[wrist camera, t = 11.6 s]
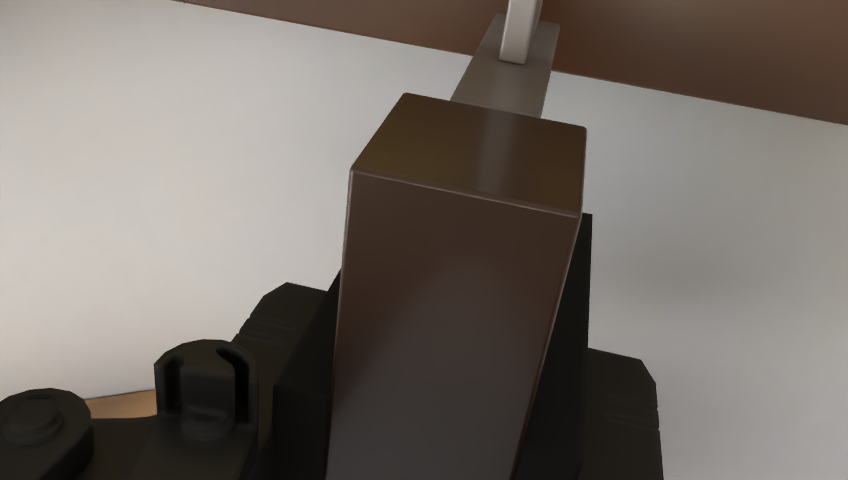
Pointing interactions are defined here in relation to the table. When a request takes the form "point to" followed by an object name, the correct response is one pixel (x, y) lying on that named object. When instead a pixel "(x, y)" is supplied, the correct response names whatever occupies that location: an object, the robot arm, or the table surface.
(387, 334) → the brown and grey bar
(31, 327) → the table surface
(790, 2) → the board
